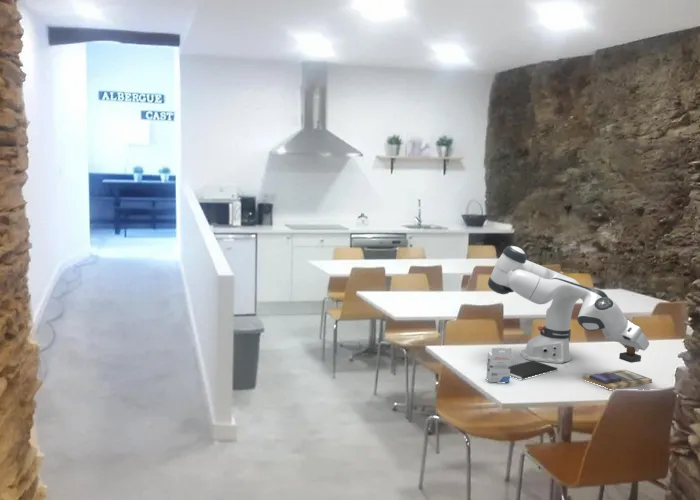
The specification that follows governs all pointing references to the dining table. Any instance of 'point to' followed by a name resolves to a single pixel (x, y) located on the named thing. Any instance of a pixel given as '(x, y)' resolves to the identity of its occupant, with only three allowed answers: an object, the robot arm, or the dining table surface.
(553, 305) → the robot arm
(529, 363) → the black flat rectangular slab
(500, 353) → the ink box
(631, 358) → the stamp
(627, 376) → the stamp board
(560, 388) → the dining table surface
